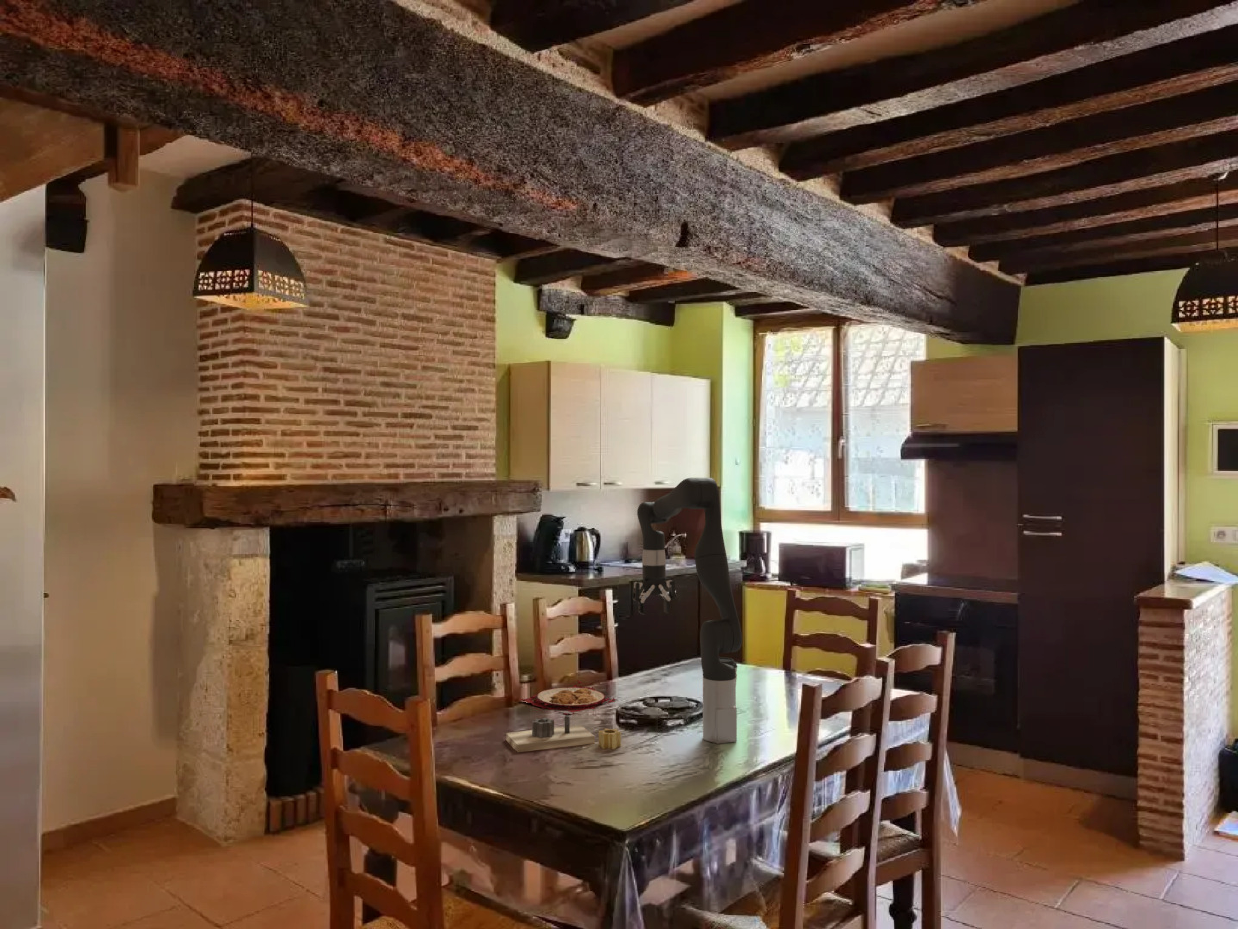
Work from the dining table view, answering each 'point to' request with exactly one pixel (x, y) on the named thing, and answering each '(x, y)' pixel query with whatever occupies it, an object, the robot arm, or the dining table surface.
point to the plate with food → (569, 698)
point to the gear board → (549, 736)
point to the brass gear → (610, 738)
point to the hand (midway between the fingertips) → (654, 613)
